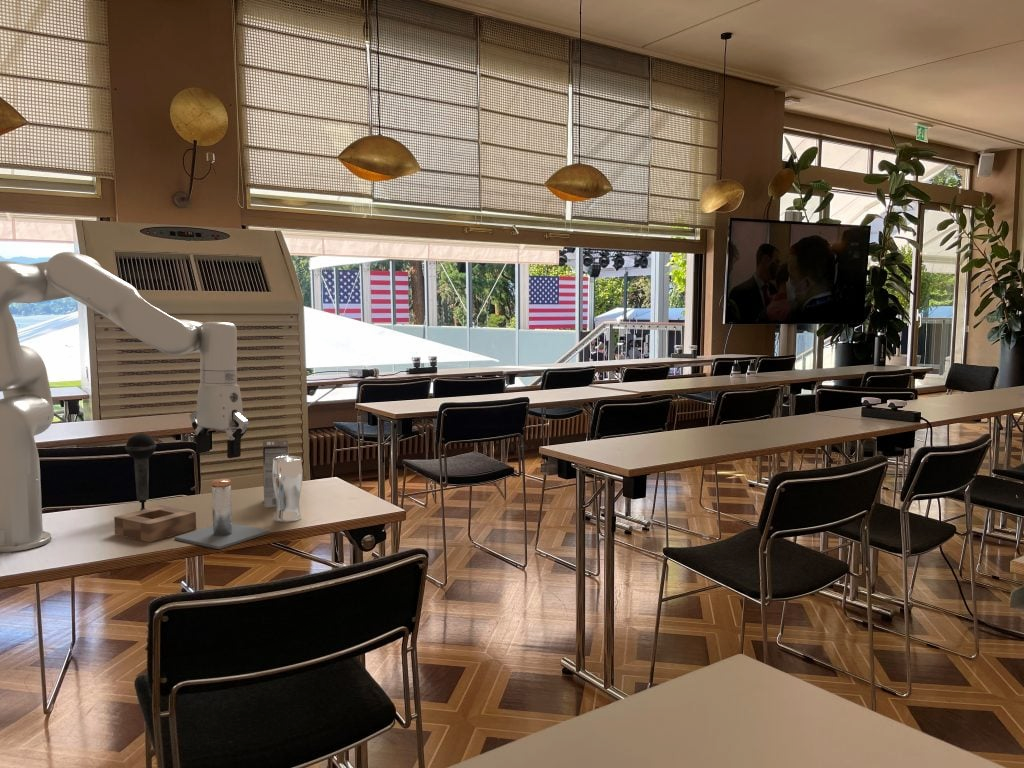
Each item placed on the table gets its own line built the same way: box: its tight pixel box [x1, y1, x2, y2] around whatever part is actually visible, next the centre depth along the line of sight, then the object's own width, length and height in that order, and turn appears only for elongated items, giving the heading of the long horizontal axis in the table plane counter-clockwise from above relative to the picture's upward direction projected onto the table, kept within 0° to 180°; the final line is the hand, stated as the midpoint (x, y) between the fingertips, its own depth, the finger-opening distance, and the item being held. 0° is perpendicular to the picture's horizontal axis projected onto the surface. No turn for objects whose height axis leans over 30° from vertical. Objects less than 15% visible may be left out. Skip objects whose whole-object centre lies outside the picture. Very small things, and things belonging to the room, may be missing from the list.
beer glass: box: [273, 455, 303, 523], centre depth 183 cm, size 7×7×15 cm
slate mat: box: [174, 522, 270, 550], centre depth 169 cm, size 14×14×1 cm
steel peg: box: [211, 478, 233, 536], centre depth 169 cm, size 4×4×12 cm
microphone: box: [125, 433, 157, 511], centre depth 187 cm, size 7×7×20 cm
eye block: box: [113, 505, 197, 543], centre depth 172 cm, size 12×12×4 cm
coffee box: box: [262, 439, 290, 509], centre depth 199 cm, size 9×6×16 cm
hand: (218, 454), depth 167 cm, fingers open, 9 cm apart
